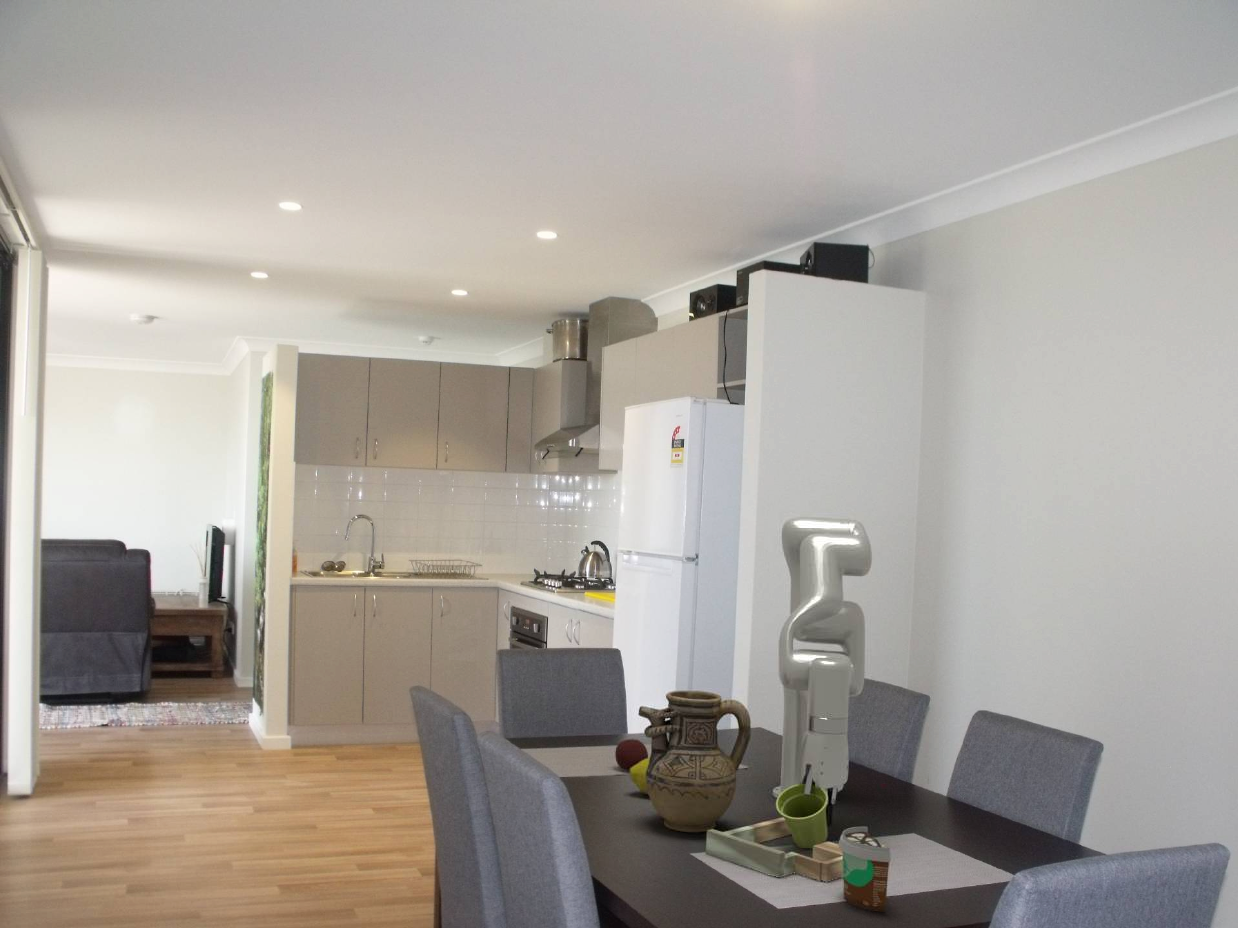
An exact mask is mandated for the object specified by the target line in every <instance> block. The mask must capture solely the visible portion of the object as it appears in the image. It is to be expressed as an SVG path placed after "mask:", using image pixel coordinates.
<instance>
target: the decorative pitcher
mask: <svg viewBox="0 0 1238 928" xmlns="http://www.w3.org/2000/svg"><path fill="white" fill-rule="evenodd" d="M665 698H666V700H667V702H668V704H667V707H666V708H663V709H662V708H661V709H657V708H654V707H648V706H642V705H641V706H640V707H639V708H638V714H637V715H638V716H639V717H642V718H645V719H647V720H648V721H649V723H650V725H648V726H647V727H645V729H644V732H643V734H644V735H645V738H649V739H651V742H650V744H651V745H650V746H651V749H650V750H651V751H650V757H649V758H650V759H649V764H648V767H647V770H646V786H647V790H648V793H649V794H648V798H649V799H650V802H651V804H652V806H653V808H654V809H655V811H656V812H657V814H658V815H659V816H660V817H662V819H664V821H663V824H664V826H665V827H666V828H667V829H670V830H672V831H677V832H682V833H691V834H692V833H693V834H695V833H704V832H707V830H711V829H715V828H716V823H715V822H716V821H717V820H718V819H720V818H721V817H722V816H723V815H724V814H725V813H726V812H727V810H728V809H729V808H730V806H731V803H732V802H733V799H734V796H735V794H736V789H737V772H738V770H739V767H740V765H741V763H742V761H743V760H744V759H743V758H744V756H745V754H746V751H747V748H748V747H749V746H748V745H749V743H750V739H751V735H752V734H751V733H752V729H751V722H752V721H751V717H750V716H751V715H750V714H749V711H748V709H747V707H745V705H744V704H743V703H742V702H740V701H739V700H736V699H725V700H722V696H721V695H719V694H717V693H713V692H709V691H701V690H674V691H673V690H672V691H670V692H668V693H666V694H665ZM726 715H732V716H734V717H735V718H736V722H737V726H738V727H737V728H738V735H737V737H736V740H735V743H734V746H733V748H732V751H731V753H730V755H729V756H728V755H727V754H726V753H725V752H724V751H723V749H722V748H721V747H720V746H719V745H718V743H719V742H718V735H719V734H718V724H719V722H720V720H722V718H723V717H724V716H726Z"/></svg>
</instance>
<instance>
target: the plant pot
mask: <svg viewBox="0 0 1238 928" xmlns="http://www.w3.org/2000/svg"><path fill="white" fill-rule="evenodd" d="M805 786H806V784H799V785H794V786H791V787H789V788H788V789H786V790H784V791H783V792H782V793H781V794H780V795H779V796H778V798H776V802H775V808H776V810H777V812H778V813H779V814H780V816H782V817H783V818H784V819H785V820H786V823H787V825H788V827H789V829H790V832H791V835H792V838H793V841H794V843H795V844H796V845H797V846H798V847H799V848H800V849H801V848H802V849H811V850H813V846H814V845H818V844H821V843H825V842H827V838H828V827H827V822H826V806H827V803H828V796H827V793H826V792H825V790H824V789H823V788H820V789H819V790H817V789H816V787H815V786H814V787H815V793H816V796H815V797H810V796H806V795H805V794H804V792H805Z"/></svg>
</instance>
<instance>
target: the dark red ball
mask: <svg viewBox="0 0 1238 928" xmlns="http://www.w3.org/2000/svg"><path fill="white" fill-rule="evenodd" d="M614 753H615V754H614V755H615V761H616V765H618V766H619V768H621V769H622V770H625V771H628V770H629V771H628V772H630V768H631V767H633V766H634V765H636V764H638V763H639V762H641V761H642V760H644V759H647V758H649V752H648V750H647V748H646V745H645V744H644V743H643V742H642V741H641V740H639V739H634V738H632V739H631V738H630V739H624V740H622V741H621V742H619V743H618V744H617V746H616V748H615V752H614Z"/></svg>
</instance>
